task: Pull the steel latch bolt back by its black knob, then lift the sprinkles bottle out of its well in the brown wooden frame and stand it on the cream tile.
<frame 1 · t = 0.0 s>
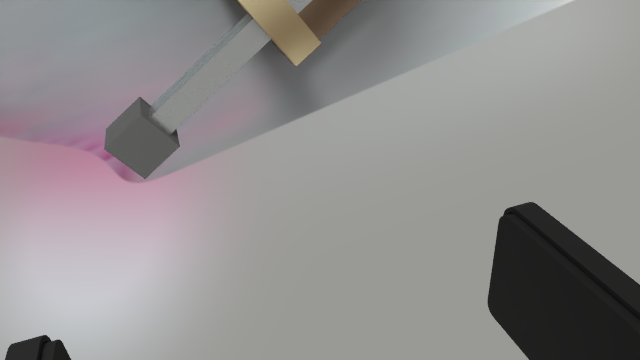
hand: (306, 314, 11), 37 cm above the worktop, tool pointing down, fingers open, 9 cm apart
latch bolt: (278, 8, 30), point 14 cm above the worktop, slide at 0.0 cm
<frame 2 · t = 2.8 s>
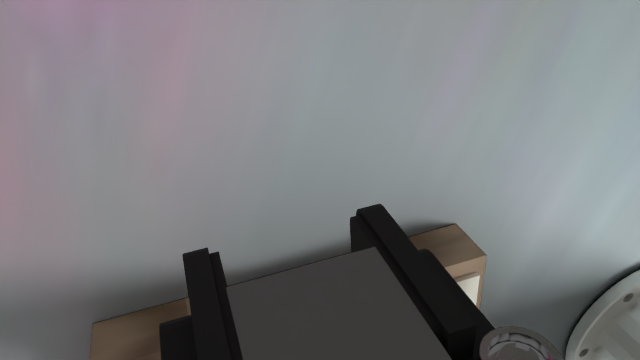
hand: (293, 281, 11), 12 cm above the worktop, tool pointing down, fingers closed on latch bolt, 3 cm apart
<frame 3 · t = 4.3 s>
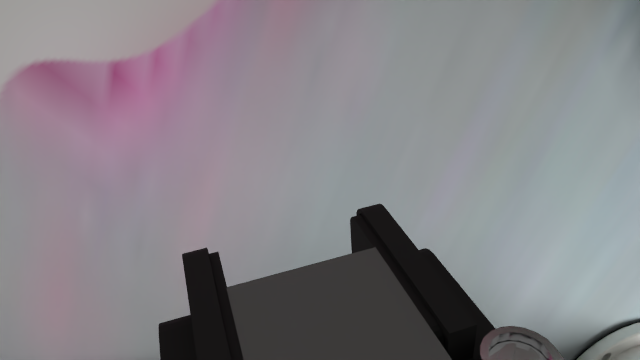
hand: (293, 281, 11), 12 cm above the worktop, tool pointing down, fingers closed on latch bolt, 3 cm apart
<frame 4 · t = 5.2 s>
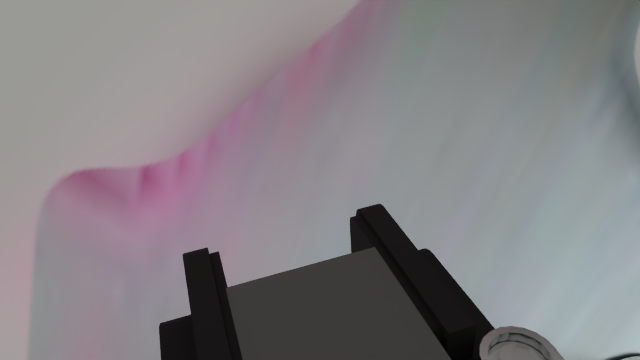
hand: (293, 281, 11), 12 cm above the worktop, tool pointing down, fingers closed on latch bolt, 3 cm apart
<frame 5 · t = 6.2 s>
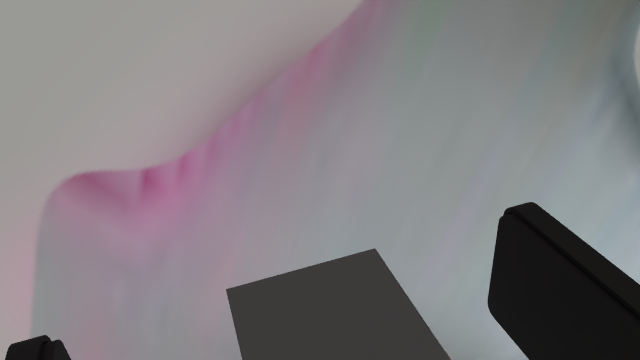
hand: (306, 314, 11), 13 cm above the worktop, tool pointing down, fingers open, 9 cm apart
when the fingers open (8 cm above the worktop, at t = 19.2 s): sprinkles bottle drops 1 cm, resting on brown wooden frame.
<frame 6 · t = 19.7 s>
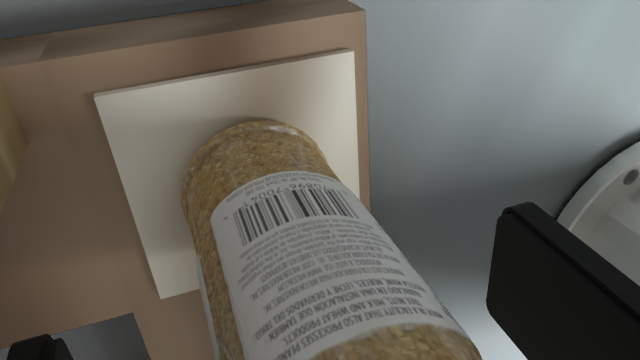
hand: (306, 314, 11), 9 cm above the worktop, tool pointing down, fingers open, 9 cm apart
sprinkles bottle: (255, 181, 15), point 3 cm above the worktop, touching brown wooden frame
brown wooden frame: (90, 267, 19), on the worktop
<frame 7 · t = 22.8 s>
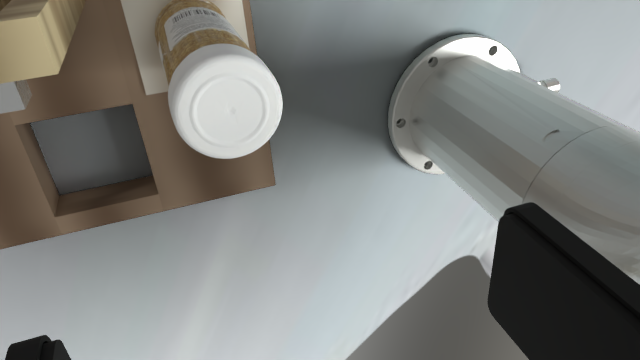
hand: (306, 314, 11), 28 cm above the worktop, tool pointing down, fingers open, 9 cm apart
sprinkles bottle: (192, 31, 31), point 3 cm above the worktop, touching brown wooden frame
brown wooden frame: (109, 92, 35), on the worktop
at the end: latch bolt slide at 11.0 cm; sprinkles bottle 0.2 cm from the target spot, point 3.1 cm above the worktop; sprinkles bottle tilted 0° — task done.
